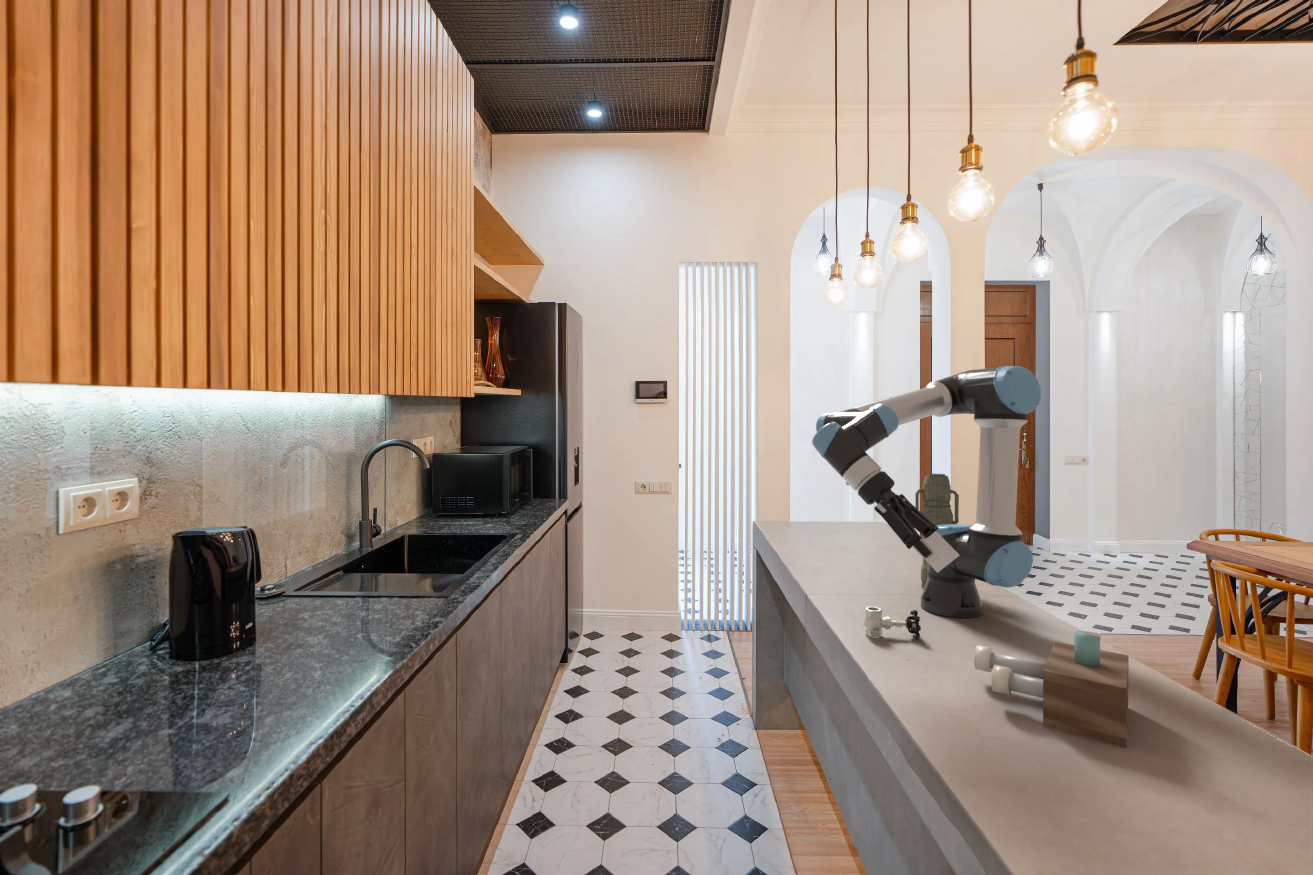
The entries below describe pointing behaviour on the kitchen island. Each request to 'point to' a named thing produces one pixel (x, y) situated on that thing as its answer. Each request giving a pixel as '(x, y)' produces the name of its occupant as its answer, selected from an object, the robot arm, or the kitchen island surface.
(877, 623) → the valve
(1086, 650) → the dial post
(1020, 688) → the knob
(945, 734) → the kitchen island surface
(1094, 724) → the mount
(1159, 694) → the kitchen island surface
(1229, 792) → the kitchen island surface
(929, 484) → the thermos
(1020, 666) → the knob
